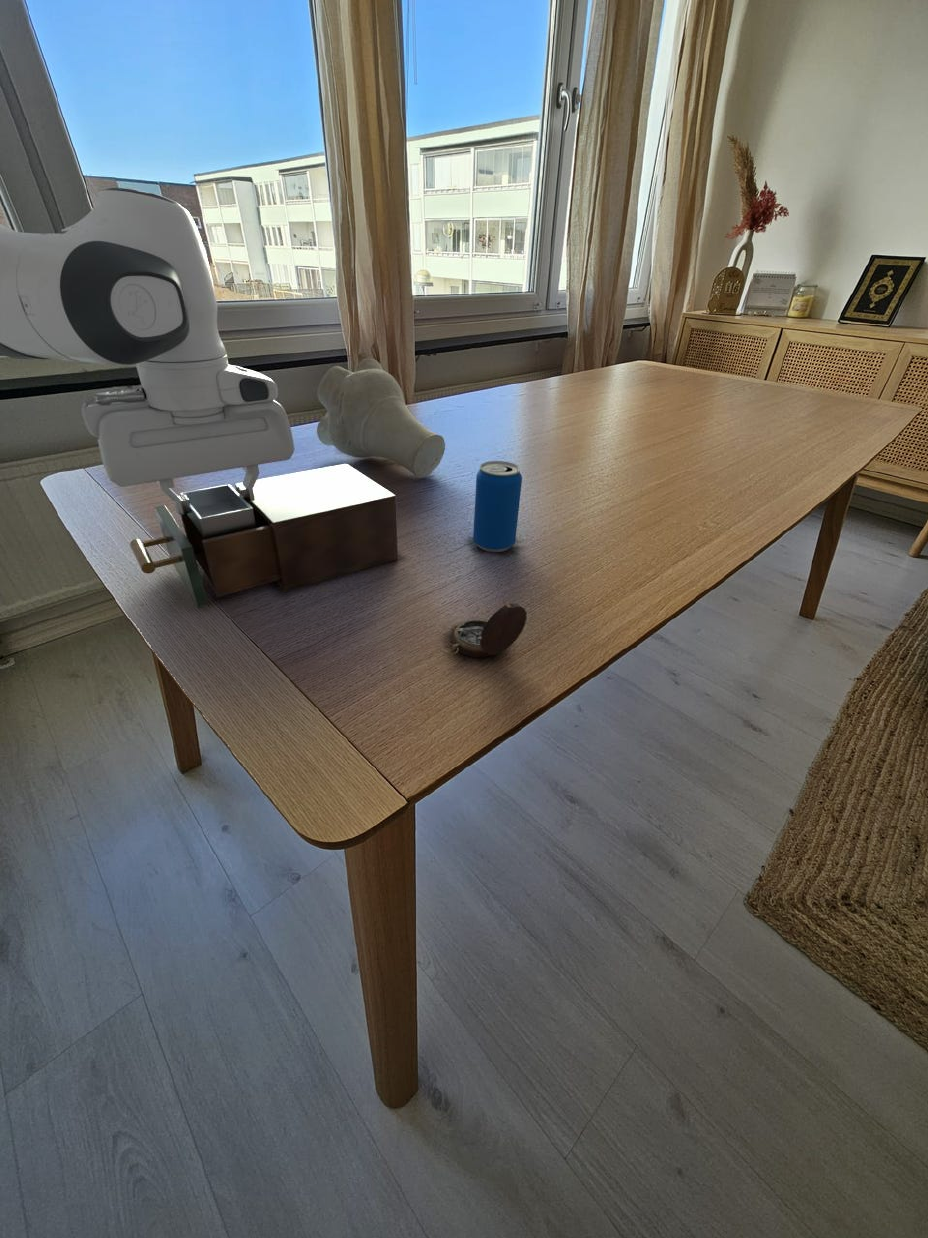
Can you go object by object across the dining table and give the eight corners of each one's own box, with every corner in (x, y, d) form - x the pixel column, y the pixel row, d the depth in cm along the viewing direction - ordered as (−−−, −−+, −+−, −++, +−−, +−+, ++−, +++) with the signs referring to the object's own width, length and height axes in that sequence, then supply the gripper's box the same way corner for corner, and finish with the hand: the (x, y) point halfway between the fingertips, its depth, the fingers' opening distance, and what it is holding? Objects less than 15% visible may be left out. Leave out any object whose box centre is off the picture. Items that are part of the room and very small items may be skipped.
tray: (204, 538, 62) (199, 519, 60) (184, 510, 68) (179, 492, 66) (256, 526, 65) (252, 508, 63) (233, 501, 71) (229, 484, 69)
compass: (478, 620, 65) (482, 567, 61) (525, 652, 60) (532, 598, 56) (425, 644, 61) (425, 590, 56) (472, 681, 56) (475, 625, 52)
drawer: (160, 618, 61) (139, 558, 56) (137, 569, 70) (117, 513, 65) (321, 572, 71) (314, 518, 66) (283, 534, 80) (275, 484, 75)
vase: (496, 406, 100) (392, 345, 110) (420, 405, 83) (307, 334, 93) (458, 508, 112) (368, 445, 122) (385, 524, 96) (288, 451, 105)
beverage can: (522, 550, 81) (531, 472, 74) (484, 557, 78) (490, 477, 71) (502, 532, 85) (508, 457, 78) (465, 538, 83) (469, 462, 76)
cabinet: (285, 592, 68) (273, 522, 63) (247, 547, 78) (234, 483, 72) (398, 559, 77) (395, 495, 71) (351, 522, 86) (346, 463, 81)
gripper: (78, 401, 50) (125, 535, 58) (290, 382, 60) (306, 498, 68) (70, 387, 54) (116, 514, 62) (270, 372, 64) (287, 482, 72)
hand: (217, 506), depth 65 cm, fingers closed on tray, 6 cm apart
